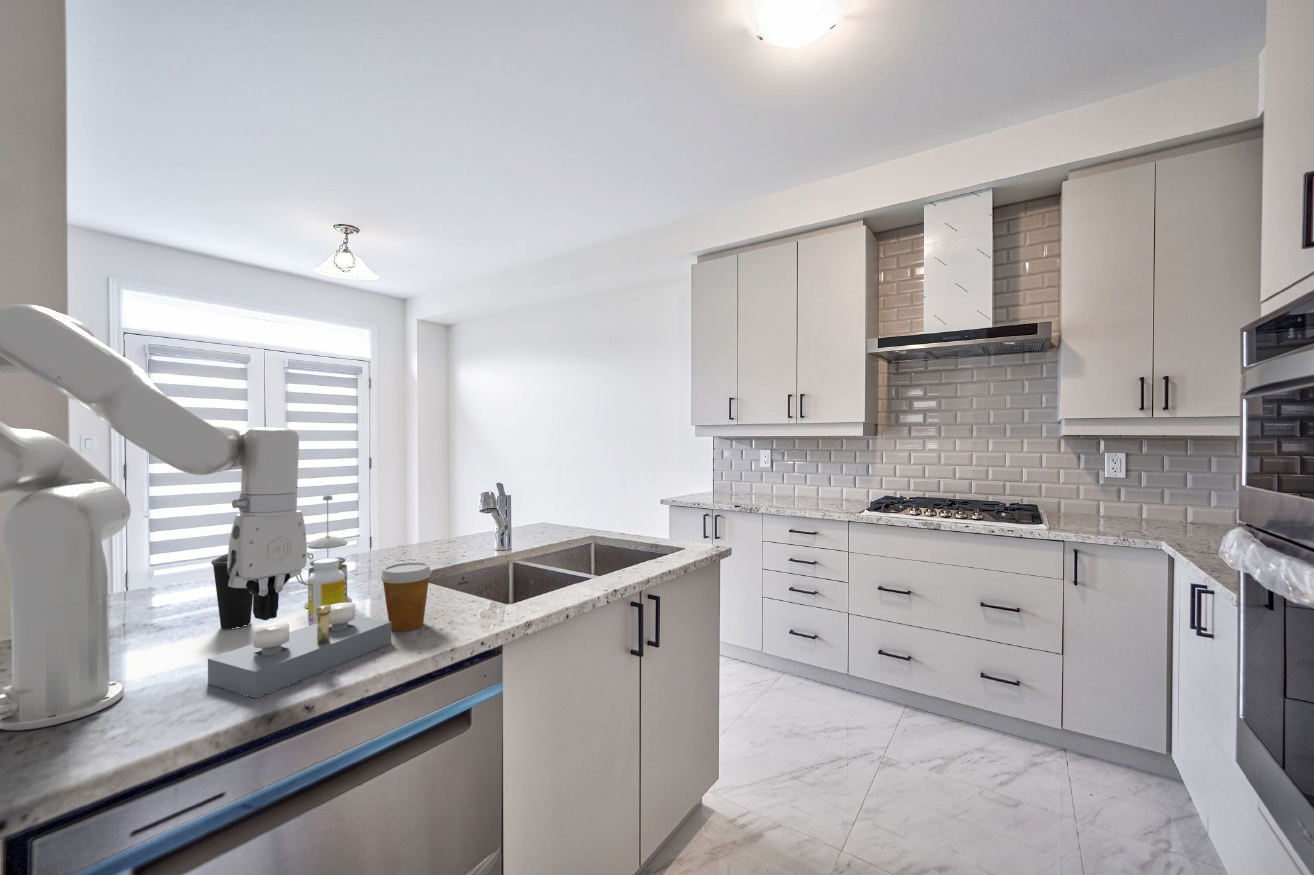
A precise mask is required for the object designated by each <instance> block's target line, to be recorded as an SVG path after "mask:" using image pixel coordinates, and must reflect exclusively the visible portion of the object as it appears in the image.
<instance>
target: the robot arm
mask: <svg viewBox="0 0 1314 875" xmlns="http://www.w3.org/2000/svg"><path fill="white" fill-rule="evenodd" d="M16 373H17V374H21V373H22V374H23V373H24V374H25V373H26V374H29V375H30V376H33V377H34V378H36V379H37V380H39V381H41V382H43V383H44V384H46V385H48V386H49V387H51V388H52V389H55V391H58V393H60V394H63V395H64V396H66V397H68V398H69V399H71V400H72V401H73V402H76V404H79V405H80V406H82V407H84V408H85V409H87V410H89V411H90V412H92V413H93V414H94V415H95V416H96V417H97V418H98V419H99V420H100V421H102V422H104V423H105V424H106V425H107V426H109V427H110V428H111V429H113V430H114V431H115V432H116V433H118V434H119V435H121V437H123V438H125V439H126V440H127V441H129V442H130V443H132V444H133V445H135V446H137V447H138V448H140V449H141V450H143V451H145V452H147V453H148V454H150V455H152V456H153V457H155V458H157V459H159V460H160V461H162V462H164V463H165V464H167V465H169V466H171V467H172V468H174V469H176V470H179V471H180V472H183V473H186V474H189V475H195V476H207V475H212V474H217V473H221V472H222V473H223V472H226V471H227V472H228V471H234V470H241V480H240V481H241V483H240V494H239V498H238V499H233V500H232V501H231V505H232V506H231V507H232V508H233V509H239V513H237V514H235V516H234V517H235V518H234V520H233V523H232V528H231V531H230V536H229V542H228V549H227V550H228V551H227V554H228V560H227V569H228V574H229V575H230V579H229V582H228V586H229V587H233V588H246V589H247V590H248V591H249V592H250V593H251V594H253V601H252V613H253V616H254V618H255V619H258V620H262V621H268V620H270V619H276V618H277V616H278V610H279V599H280V598H279V597H280V596H279V593H281V592H282V591H283V589H284V586H285V584H287V582H288V581H290V579H293V578H295V577H296V576H299V574H301V575H302V572H303V571H302V570H303V569H304V568H305V567H306V565H307V561H308V557H307V556H308V554H307V553H308V544H307V532H306V531H307V530H306V524H305V519H304V516H303V511H302V510H299V509H297V508H298V507H297V506H298V480H299V478H298V477H299V475H298V474H299V456H300V455H299V452H300V436H299V434H298V433H297V431H296V430H294V429H291V428H284V427H251V428H246V427H244V428H243V427H236V426H230V425H223V424H216V423H215V424H214V423H213V424H211V423H209V422H207V421H205V420H204V419H202V418H201V417H199V416H197V415H196V414H194V413H192V412H191V411H190V410H188V409H186V408H185V407H183V406H182V405H181V404H178V403H177V402H175V401H174V400H173V399H171V398H170V397H168V396H167V395H166V394H164V392H162V390H160V389H159V388H157V387H156V386H155V384H154V383H153V381H152V379H151V377H150V375H149V374H148V373H147V372H146V370H144V369H143V368H142V367H140V365H138V364H136V363H134V362H133V361H132V360H130V359H128V358H127V357H125V356H123V355H122V354H120V353H118V352H117V351H116V350H114V349H112V348H111V347H109V346H107V345H106V344H104V343H103V342H101V341H99V340H98V339H96V337H95V335H94V334H93V332H92V331H91V330H90V329H89V327H87V326H86V325H85V324H84V323H83V322H81V321H79V320H77V319H75V318H73V317H70V316H68V315H66V314H63V313H60V312H57V311H55V310H52V309H50V308H47V307H43V306H39V305H34V304H29V303H28V304H27V303H24V304H23V303H20V304H19V303H16V304H10V305H6V306H3V307H0V374H16ZM7 496H8V497H9V496H13V497H15V498H16V500H18V501H17V502H16V503H14V504H13V505H12V507H11V508H10V509H9V510H8V512H6V515H5V517H4V519H3V521H2V525H1V539H2V546H3V550H4V554H5V558H6V561H7V566H8V573H9V574H8V575H9V584H10V585H9V586H10V587H9V588H10V609H11V610H10V611H11V613H10V614H11V616H10V618H11V619H10V620H11V685H7V686H3V687H2V694H0V729H1V730H5V731H23V730H24V731H25V730H26V731H27V730H32V729H33V730H36V729H41V728H45V727H50V726H51V727H52V726H55V725H58V724H59V725H60V724H63V723H68V722H71V721H74V720H77V719H81V718H83V717H86V716H89V715H92V714H94V713H97V712H99V711H102V710H103V709H105V708H106V709H107V708H108V707H110V706H112V705H114V704H115V703H116V702H118V701H119V700H120V699H121V698H122V697H123V696H124V695H125V694H124V693H125V691H124V690H125V687H124V685H123V684H122V683H120V682H117V681H111V680H110V627H109V626H110V623H109V622H110V621H109V620H110V616H109V615H110V614H109V611H110V609H109V608H110V606H109V604H110V603H109V599H110V597H109V573H108V572H109V571H108V566H107V560H106V557H105V556H106V555H105V553H104V552H105V551H104V549H103V548H104V547H103V541H105V540H108V539H109V538H111V537H114V536H115V535H117V534H118V533H120V532H121V531H122V530H123V528H125V527H126V525H128V522H129V520H130V517H131V512H132V510H131V504H130V501H129V499H128V497H127V495H125V493H124V492H123V491H122V490H121V489H120V488H119V487H118V486H117V485H116V484H115V483H113V481H112V480H110V479H109V478H108V477H107V476H106V475H104V474H103V473H102V472H101V471H100V470H99V469H98V468H96V467H95V466H94V465H93V464H92V463H90V462H89V461H88V460H87V459H86V458H85V457H83V456H82V455H81V454H80V453H78V451H76V450H75V449H74V448H73V447H72V446H70V445H69V444H68V443H67V442H65V441H63V440H61V439H60V438H59V437H56V436H55V435H52V434H50V433H48V432H44V431H41V430H36V429H29V428H13V427H10V426H9V425H7V424H6V423H3V421H1V420H0V497H7ZM243 578H244V579H243Z"/></svg>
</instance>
